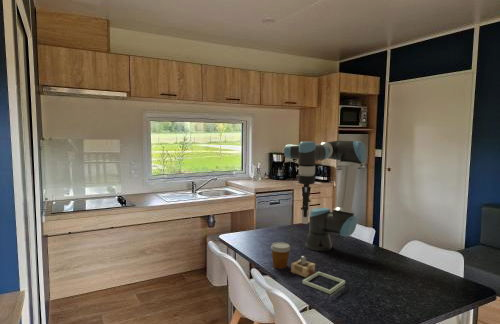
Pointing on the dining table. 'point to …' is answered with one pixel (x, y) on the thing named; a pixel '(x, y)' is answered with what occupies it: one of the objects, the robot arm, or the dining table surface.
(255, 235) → the dining table surface
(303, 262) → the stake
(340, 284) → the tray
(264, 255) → the dining table surface
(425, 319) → the dining table surface
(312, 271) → the wooden square frame
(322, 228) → the robot arm
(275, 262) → the disposable coffee cup
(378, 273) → the dining table surface
